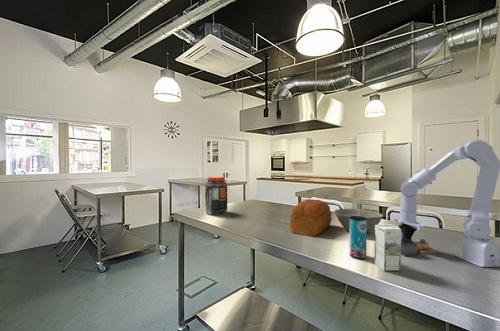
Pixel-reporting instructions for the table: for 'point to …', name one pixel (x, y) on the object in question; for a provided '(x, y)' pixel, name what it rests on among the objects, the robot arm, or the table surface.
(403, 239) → the panel
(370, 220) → the ceramic bowl
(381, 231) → the milk carton
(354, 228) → the beverage can
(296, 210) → the bread
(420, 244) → the link
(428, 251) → the pintle plate
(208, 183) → the supplement tub
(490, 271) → the table surface
